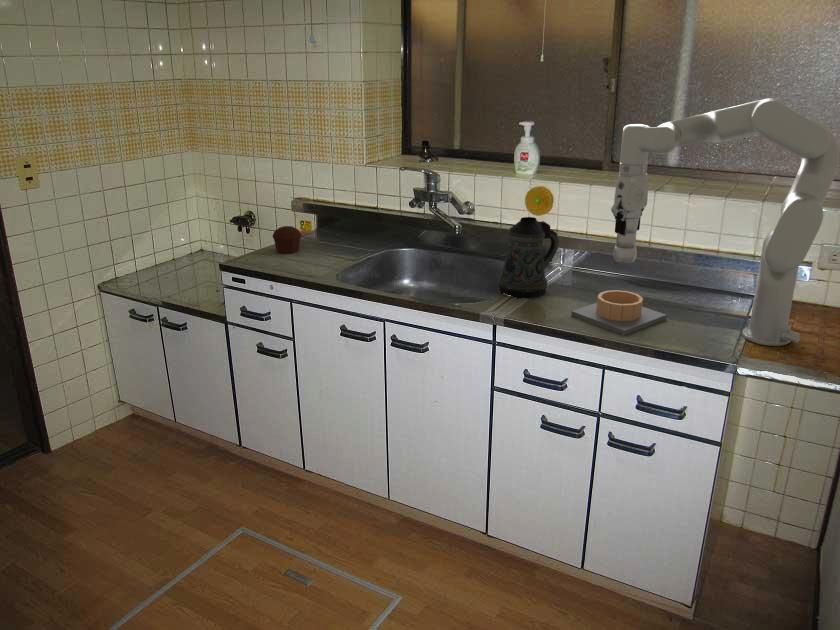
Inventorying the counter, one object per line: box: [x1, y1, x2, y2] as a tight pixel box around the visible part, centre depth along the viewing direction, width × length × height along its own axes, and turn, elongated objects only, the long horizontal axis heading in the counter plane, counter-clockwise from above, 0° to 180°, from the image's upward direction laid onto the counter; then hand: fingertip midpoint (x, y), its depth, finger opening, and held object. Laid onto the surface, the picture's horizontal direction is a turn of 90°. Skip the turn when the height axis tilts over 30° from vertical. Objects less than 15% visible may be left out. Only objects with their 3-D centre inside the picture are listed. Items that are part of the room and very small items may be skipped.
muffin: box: [272, 225, 303, 255], centre depth 288 cm, size 12×11×10 cm
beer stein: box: [497, 216, 560, 299], centre depth 238 cm, size 16×19×25 cm
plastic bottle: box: [612, 207, 640, 264], centre depth 208 cm, size 6×7×20 cm
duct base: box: [571, 289, 667, 336], centre depth 217 cm, size 20×20×6 cm
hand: (627, 230), depth 208 cm, fingers closed on plastic bottle, 6 cm apart
